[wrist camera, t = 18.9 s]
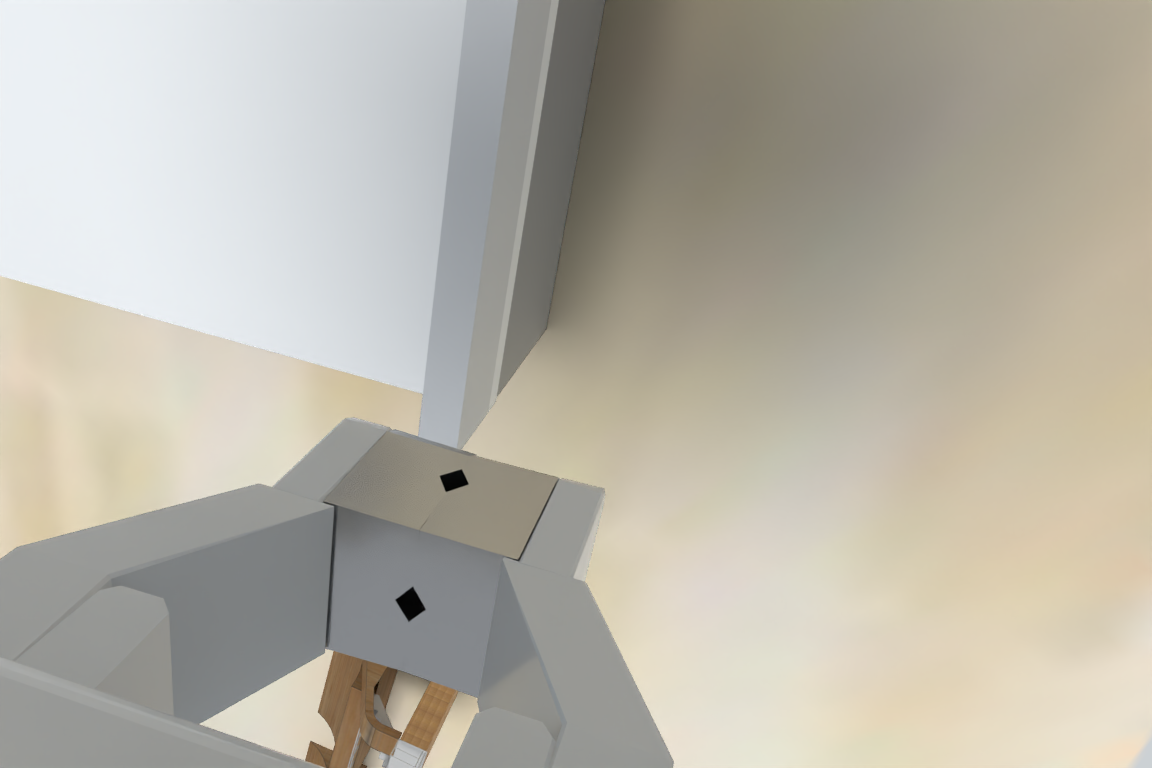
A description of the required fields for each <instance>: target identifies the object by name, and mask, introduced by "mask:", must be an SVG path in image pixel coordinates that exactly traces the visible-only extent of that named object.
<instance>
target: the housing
mask: <svg viewBox="0 0 1152 768" xmlns="http://www.w3.org/2000/svg"><path fill="white" fill-rule="evenodd" d="M604 5H605V0H559V3H558V9H557V16H556V22H555V29H554V35H553V41H552V48H551V54H550V60H549V67H548V73H547V79H546V86H545V92H544V99H543V105H542V111H541V118H540V124H539V130H538V137H537V143H536V150H535V156H534V162H533V169H532V175H531V181H530V188H529V194H528V200H527V207H526V213H525V220H524V226H523V232H522V239H521V245H520V251H519V258H518V264H517V271H516V277H515V283H514V290H513V296H512V302H511V309H510V315H509V322H508V328H507V334H506V341H505V347H504V353H503V360H502V366H501V372H500V379H499V385H498V392H497V396H498V395H499V394H500V392H501V391H502V389H503V388H504V387H505V385H506V384H507V383H508V381H509V380H510V378H511V377H512V376H513V374H514V373H515V372H516V370H517V369H518V367H519V366H520V365H521V363H522V362H523V361H524V359H525V358H526V356H527V355H528V354H529V352H530V351H531V349H532V348H533V347H534V345H535V344H536V343H537V341H538V340H539V338H540V337H541V336H542V334H543V333H544V332H545V330H546V328H547V322H548V316H549V311H550V305H551V300H552V294H553V289H554V283H555V278H556V272H557V266H558V261H559V255H560V250H561V244H562V239H563V233H564V228H565V222H566V216H567V211H568V205H569V200H570V194H571V189H572V183H573V178H574V172H575V166H576V161H577V155H578V150H579V144H580V139H581V133H582V128H583V122H584V116H585V111H586V105H587V100H588V94H589V89H590V83H591V78H592V72H593V66H594V61H595V55H596V50H597V44H598V39H599V33H600V28H601V22H602V16H603V11H604Z"/></svg>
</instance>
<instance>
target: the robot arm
mask: <svg viewBox="0 0 1152 768" xmlns="http://www.w3.org/2000/svg"><path fill="white" fill-rule="evenodd" d="M604 499H605V490H604V488H600V487H596V486H592V485H588V484H584V483H580V482H576V481H572V480H568V479H564V478H561V479H559V478H558V477H555V476H551V475H547V474H543V473H539V472H535V471H532V470H528V469H524V468H520V467H516V466H513V465H509V464H505V463H501V462H497V461H493V460H490V459H486V458H482V457H478V456H477V455H476V454H473V453H470V452H466V451H463V450H460V449H457V448H453V447H450V446H447V445H444V444H441V443H437V442H434V441H431V440H428V439H424V438H421V437H418V436H415V435H411V434H408V433H405V432H402V431H399V430H392V429H391V428H390V427H386V426H383V425H379V424H375V423H372V422H368V421H364V420H361V419H357V418H345V419H344V420H342V421H341V422H340V423H339V424H338V425H337V426H336V427H335V428H334V429H333V430H332V431H331V432H330V433H329V434H327V435H326V436H325V437H324V438H323V439H322V440H321V441H320V442H319V443H318V444H317V445H316V446H315V447H314V448H313V449H312V450H311V451H310V452H308V453H307V454H306V455H305V456H304V457H303V458H302V459H301V460H300V461H299V462H298V463H297V464H296V465H295V466H294V467H293V468H292V469H291V470H289V471H288V472H287V473H286V474H285V475H284V476H283V477H282V478H281V479H280V480H279V481H278V482H277V483H276V484H275V485H274V486H273V487H269V486H266V485H262V484H255V485H251V486H248V487H244V488H240V489H236V490H232V491H228V492H225V493H221V494H217V495H213V496H209V497H206V498H202V499H198V500H194V501H190V502H187V503H183V504H179V505H175V506H171V507H168V508H164V509H160V510H156V511H152V512H149V513H145V514H141V515H137V516H133V517H129V518H126V519H122V520H118V521H114V522H110V523H107V524H103V525H99V526H95V527H91V528H88V529H84V530H80V531H76V532H72V533H69V534H65V535H61V536H57V537H53V538H49V539H46V540H42V541H38V542H34V543H30V544H27V545H23V546H19V547H16V548H15V549H14V550H12V551H11V552H9V553H8V554H7V555H5V556H4V557H2V558H1V559H0V768H325V767H322V766H319V765H316V764H313V763H310V762H307V761H304V760H301V759H298V758H295V757H292V756H290V755H287V754H284V753H281V752H278V751H275V750H272V749H269V748H266V747H263V746H260V745H257V744H255V743H252V742H249V741H246V740H243V739H240V738H237V737H234V736H231V735H228V734H225V733H222V732H219V731H217V730H214V729H211V728H208V727H205V726H202V725H199V724H200V723H202V722H203V721H205V720H207V719H209V718H211V717H212V716H214V715H216V714H218V713H219V712H221V711H223V710H225V709H227V708H228V707H230V706H232V705H234V704H235V703H237V702H239V701H241V700H242V699H244V698H246V697H248V696H250V695H251V694H253V693H255V692H257V691H258V690H260V689H262V688H264V687H266V686H267V685H269V684H271V683H273V682H274V681H276V680H278V679H280V678H282V677H283V676H285V675H287V674H289V673H290V672H292V671H294V670H296V669H297V668H299V667H301V666H303V665H305V664H306V663H308V662H310V661H312V660H313V659H315V658H317V657H319V656H321V655H322V654H324V653H325V649H329V650H332V651H336V652H339V653H343V654H346V655H349V656H353V657H356V658H360V659H363V660H366V661H370V662H373V663H377V664H380V665H384V666H387V667H390V668H394V669H397V670H401V671H404V672H406V673H409V674H412V675H415V676H418V677H420V678H423V679H426V680H429V681H432V682H435V683H437V684H440V685H443V686H446V687H449V688H451V689H454V690H457V691H460V692H463V693H466V694H468V695H471V696H474V697H477V698H478V701H477V702H478V707H479V713H477V714H476V715H475V717H474V719H473V721H472V723H471V726H470V728H469V730H468V732H467V734H466V736H465V739H464V741H463V743H462V745H461V747H460V749H459V752H458V754H457V756H456V758H455V760H454V763H453V765H452V767H451V768H673V764H674V761H673V759H672V757H671V755H670V753H669V751H668V749H667V747H666V745H665V743H664V740H663V738H662V736H661V734H660V732H659V730H658V728H657V726H656V724H655V722H654V720H653V718H652V716H651V714H650V712H649V710H648V708H647V706H646V704H645V702H644V700H643V698H642V695H641V693H640V691H639V689H638V687H637V685H636V683H635V681H634V679H633V677H632V675H631V673H630V671H629V669H628V667H627V665H626V663H625V661H624V659H623V657H622V655H621V652H620V650H619V648H618V646H617V644H616V642H615V640H614V638H613V636H612V634H611V632H610V630H609V628H608V626H607V624H606V622H605V620H604V618H603V616H602V614H601V612H600V610H599V607H598V605H597V603H596V601H595V599H594V597H593V595H592V593H591V591H590V589H589V587H588V585H587V583H586V582H585V579H586V575H587V571H588V567H589V563H590V559H591V555H592V551H593V546H594V542H595V538H596V534H597V530H598V526H599V522H600V518H601V514H602V509H603V505H604Z"/></svg>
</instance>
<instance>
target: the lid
mask: <svg viewBox="0 0 1152 768" xmlns="http://www.w3.org/2000/svg"><path fill="white" fill-rule="evenodd" d="M558 3H559V0H0V276H3V277H6V278H10V279H14V280H17V281H21V282H24V283H28V284H31V285H35V286H39V287H42V288H46V289H49V290H53V291H56V292H60V293H64V294H67V295H71V296H74V297H78V298H81V299H85V300H89V301H92V302H96V303H99V304H103V305H107V306H110V307H114V308H117V309H121V310H124V311H128V312H132V313H135V314H139V315H142V316H146V317H149V318H153V319H157V320H160V321H164V322H167V323H171V324H175V325H178V326H182V327H185V328H189V329H192V330H196V331H200V332H203V333H207V334H210V335H214V336H217V337H221V338H225V339H228V340H232V341H235V342H239V343H242V344H246V345H250V346H253V347H257V348H260V349H264V350H268V351H271V352H275V353H278V354H282V355H285V356H289V357H293V358H296V359H300V360H303V361H307V362H310V363H314V364H318V365H321V366H325V367H328V368H332V369H335V370H339V371H343V372H346V373H350V374H353V375H357V376H361V377H364V378H368V379H371V380H375V381H378V382H382V383H386V384H389V385H393V386H396V387H400V388H403V389H407V390H411V391H414V392H418V393H421V394H423V398H422V407H421V416H420V425H419V433H418V437H421V438H424V439H428V440H431V441H434V442H437V443H441V444H444V445H447V446H450V447H453V448H457V449H460V450H461V449H462V448H463V447H464V445H465V444H466V442H467V441H468V440H469V438H470V437H471V435H472V434H473V433H474V431H475V430H476V429H477V427H478V426H479V424H480V423H481V422H482V420H483V419H484V417H485V416H486V415H487V413H488V412H489V410H490V409H491V408H492V406H493V405H494V404H495V402H496V398H497V392H498V385H499V379H500V372H501V366H502V360H503V353H504V347H505V341H506V334H507V328H508V322H509V315H510V309H511V302H512V296H513V290H514V283H515V277H516V271H517V264H518V258H519V251H520V245H521V239H522V232H523V226H524V220H525V213H526V207H527V200H528V194H529V188H530V181H531V175H532V169H533V162H534V156H535V150H536V143H537V137H538V130H539V124H540V118H541V111H542V105H543V99H544V92H545V86H546V79H547V73H548V67H549V60H550V54H551V48H552V41H553V35H554V29H555V22H556V16H557V9H558Z"/></svg>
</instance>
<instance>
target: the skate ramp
mask: <svg viewBox="0 0 1152 768" xmlns="http://www.w3.org/2000/svg"><path fill="white" fill-rule="evenodd" d="M396 673H397V669H394V668H390V667H387V666H384V665H380V664H377V663H373V662H370V661H366V660H363V659H360V658H356V657H353V656H349V655H346V654H343V653H339V652H336V651H334V652H333V656H332V660H331V664H330V667H329V671H328V675H327V679H326V683H325V687H324V691H323V694H322V698H321V702H320V706H319V710H318V713H319V714H320V715H321V716H322V717H323V718H324V719H325V720H326V722H327V723H328V725H329V727H330V728H331V730H332V733H333V736H334V740H335V746H334V749H333V751H332V750H330V749H328V748H325V747H323V746H321V745H319V744H316V743H314V742H312V741H310V744H309V748H308V752H307V756H306V760H305V761H307V762H310V763H313V764H316V765H319V766H322V767H325V768H367V766H366V765H363V764H362V762H363V761H364V759H365V757H366V755H367V753H368V752H369V750H370V748H373V749H375V750H377V751H379V752H380V755H379V758H380V759H382V760H384V762H383V765H382V767H385V768H422V767H423V765H424V763H425V761H426V759H427V757H428V755H429V753H430V750H431V748H432V746H433V744H434V742H435V740H436V738H437V736H438V734H439V732H440V729H441V727H442V725H443V723H444V721H445V719H446V717H447V715H448V713H449V711H450V708H451V706H452V704H453V702H454V700H455V698H456V696H457V693H458V691H457V690H454V689H451V688H449V687H446V686H443V685H440V684H437V683H435V682H432V681H430V683H429V685H428V687H427V689H426V691H425V693H424V695H423V697H422V699H421V701H420V702H419V704H418V706H417V708H416V710H415V712H414V714H413V716H412V718H411V720H410V722H409V724H408V725H407V727H406V729H405V731H404V733H403V735H402V737H401V739H399V738H400V736H401V734H402V732H399V731H397V730H395V729H393V727H392V725H391V723H390V720H389V718H388V715H387V713H386V711H385V708H386V705H387V702H388V698H389V695H390V692H391V689H392V686H393V683H394V680H395V676H396ZM379 680H380V681H379ZM378 681H379V685H378V688H377V691H376V694H375V693H374V687H375V685H376V684H377V683H378Z"/></svg>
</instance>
